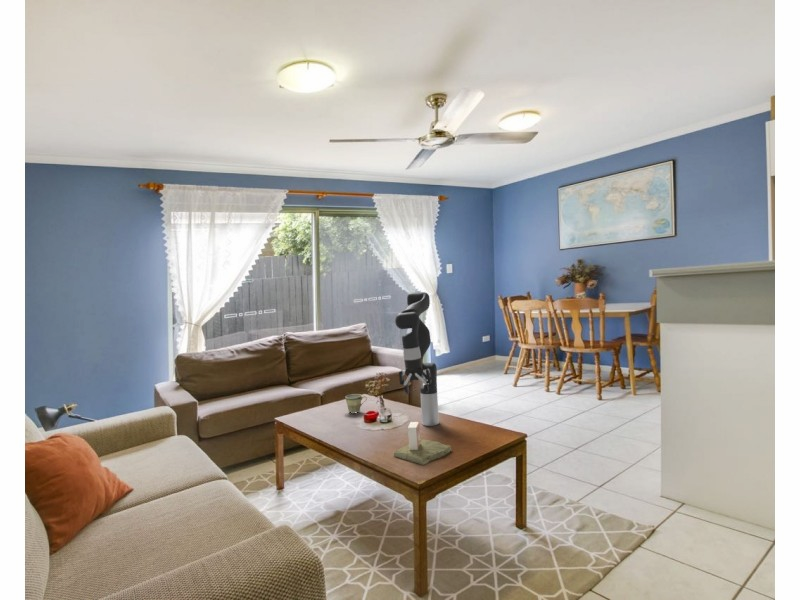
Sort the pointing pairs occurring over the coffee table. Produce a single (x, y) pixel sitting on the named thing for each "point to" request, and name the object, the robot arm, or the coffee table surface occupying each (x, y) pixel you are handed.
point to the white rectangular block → (414, 435)
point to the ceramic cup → (354, 402)
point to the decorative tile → (423, 452)
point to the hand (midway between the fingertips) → (417, 392)
